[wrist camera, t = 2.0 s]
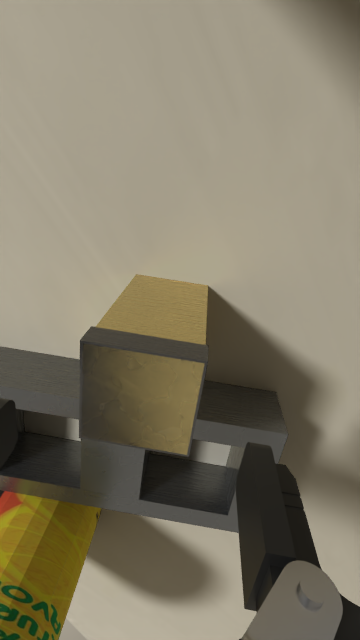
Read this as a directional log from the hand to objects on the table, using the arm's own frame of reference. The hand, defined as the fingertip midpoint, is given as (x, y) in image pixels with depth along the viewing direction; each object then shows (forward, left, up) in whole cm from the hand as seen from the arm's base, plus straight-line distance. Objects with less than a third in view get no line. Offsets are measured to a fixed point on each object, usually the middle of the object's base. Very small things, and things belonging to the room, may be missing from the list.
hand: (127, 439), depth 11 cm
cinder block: (+9, -2, -11) cm, 14 cm away
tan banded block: (0, 0, -11) cm, 11 cm away
